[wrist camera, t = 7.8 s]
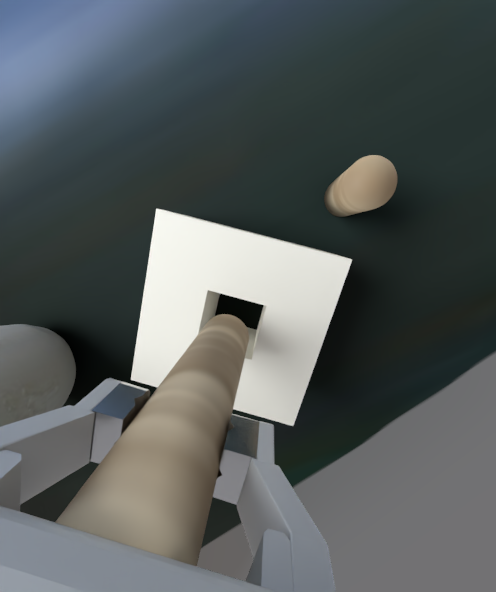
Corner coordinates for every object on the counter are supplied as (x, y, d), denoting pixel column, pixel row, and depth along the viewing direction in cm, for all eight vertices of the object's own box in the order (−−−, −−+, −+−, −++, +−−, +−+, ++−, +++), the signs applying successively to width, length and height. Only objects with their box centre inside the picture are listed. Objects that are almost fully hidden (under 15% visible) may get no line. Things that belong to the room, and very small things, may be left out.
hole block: (186, 215, 22) (156, 208, 16) (331, 253, 22) (352, 259, 16) (163, 346, 26) (130, 379, 20) (288, 381, 25) (293, 426, 19)
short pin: (331, 173, 20) (354, 149, 15) (367, 182, 20) (405, 162, 15) (319, 211, 21) (337, 203, 15) (354, 220, 21) (385, 215, 15)
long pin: (208, 308, 16) (-142, 703, 3) (254, 321, 16) (147, 802, 2) (199, 350, 17) (-110, 830, 3) (242, 363, 17) (112, 909, 3)
